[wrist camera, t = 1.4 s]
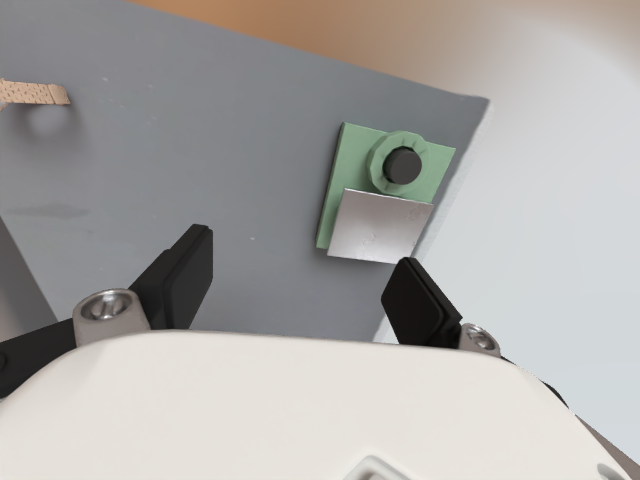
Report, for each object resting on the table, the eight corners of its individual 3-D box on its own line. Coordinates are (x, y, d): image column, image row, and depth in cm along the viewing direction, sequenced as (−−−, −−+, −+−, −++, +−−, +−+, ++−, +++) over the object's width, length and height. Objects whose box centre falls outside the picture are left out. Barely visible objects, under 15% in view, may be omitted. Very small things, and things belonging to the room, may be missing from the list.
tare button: (390, 145, 21) (397, 148, 20) (418, 152, 22) (427, 155, 20) (379, 177, 23) (385, 182, 21) (406, 182, 23) (414, 187, 22)
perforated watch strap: (10, 72, 18) (-78, 61, 14) (76, 78, 19) (11, 69, 14) (29, 110, 19) (-45, 111, 15) (90, 114, 20) (35, 116, 16)
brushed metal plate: (343, 186, 22) (344, 188, 22) (432, 202, 24) (434, 204, 24) (326, 252, 26) (326, 255, 26) (403, 262, 28) (405, 265, 28)
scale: (343, 116, 22) (350, 118, 19) (450, 142, 24) (468, 146, 22) (315, 241, 29) (317, 255, 26) (399, 253, 31) (409, 266, 29)
